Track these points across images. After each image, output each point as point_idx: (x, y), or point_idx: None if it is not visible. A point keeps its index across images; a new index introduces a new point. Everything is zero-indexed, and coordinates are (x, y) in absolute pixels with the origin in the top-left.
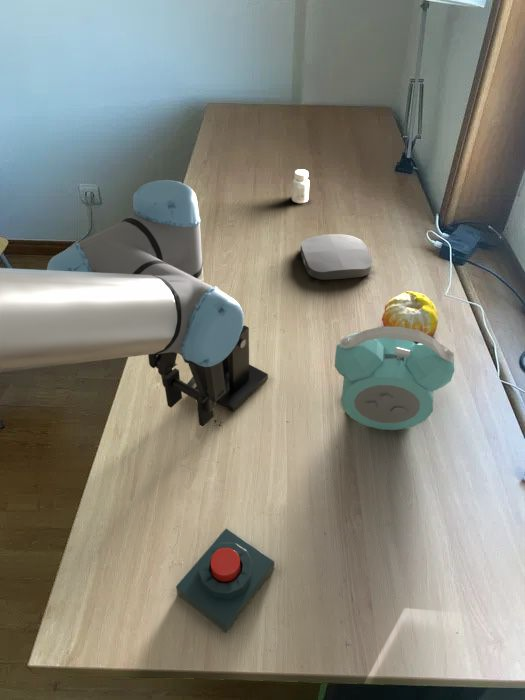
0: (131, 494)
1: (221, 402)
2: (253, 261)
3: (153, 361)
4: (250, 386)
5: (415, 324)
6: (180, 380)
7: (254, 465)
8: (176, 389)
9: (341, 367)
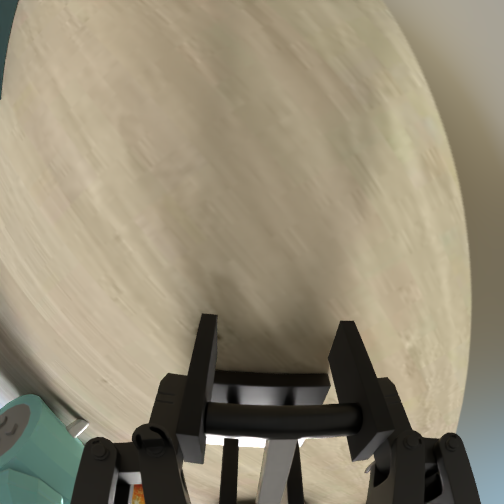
0: (256, 6)
1: (234, 381)
2: (349, 493)
3: (450, 468)
4: None
5: None
6: (331, 436)
7: (59, 274)
8: (344, 386)
9: (18, 492)
